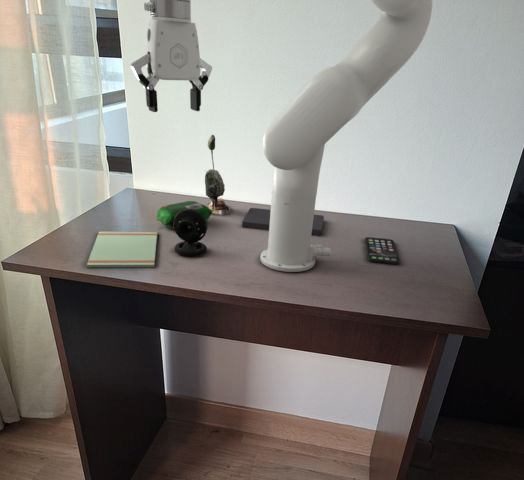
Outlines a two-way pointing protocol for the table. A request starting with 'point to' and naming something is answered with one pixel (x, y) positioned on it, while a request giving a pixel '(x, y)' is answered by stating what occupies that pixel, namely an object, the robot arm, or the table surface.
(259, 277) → the table surface
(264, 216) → the notebook
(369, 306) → the table surface
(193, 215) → the webcam
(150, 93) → the robot arm
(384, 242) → the smartphone
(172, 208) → the snack package
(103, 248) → the towel
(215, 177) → the plant with pod
